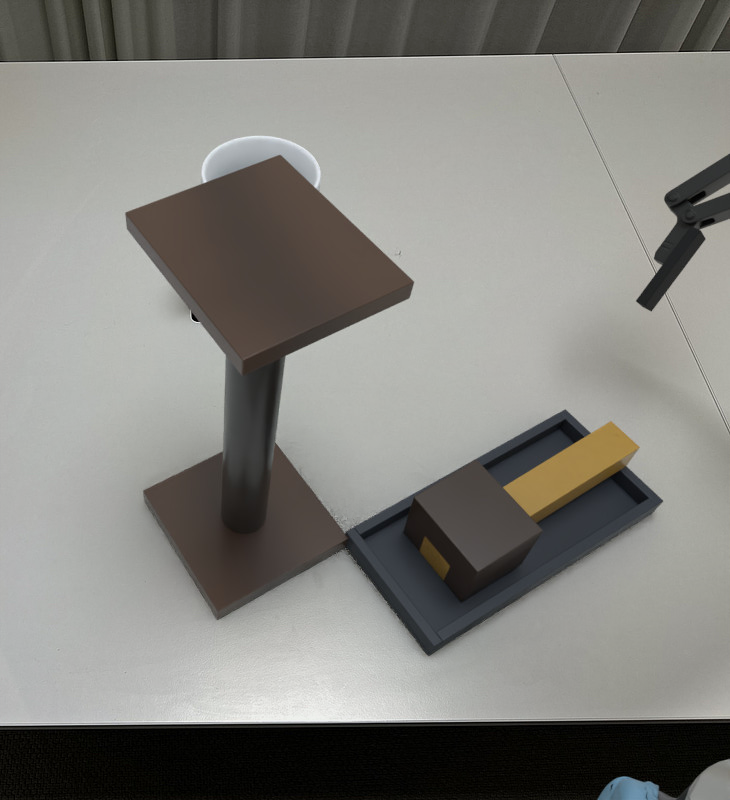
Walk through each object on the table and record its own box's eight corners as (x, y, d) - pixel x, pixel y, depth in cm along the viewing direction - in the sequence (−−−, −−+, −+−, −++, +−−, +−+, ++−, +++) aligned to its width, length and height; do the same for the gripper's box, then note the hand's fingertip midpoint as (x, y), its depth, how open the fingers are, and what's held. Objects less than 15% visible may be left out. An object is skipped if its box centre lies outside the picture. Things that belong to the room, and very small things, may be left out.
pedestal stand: (264, 440, 69) (294, 148, 45) (346, 547, 63) (431, 274, 39) (144, 500, 66) (107, 218, 42) (217, 620, 60) (223, 369, 36)
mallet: (580, 423, 68) (604, 382, 63) (645, 484, 64) (676, 445, 59) (402, 531, 63) (413, 496, 58) (461, 603, 60) (477, 572, 55)
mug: (211, 348, 76) (211, 245, 65) (149, 282, 81) (140, 177, 71) (329, 284, 81) (347, 179, 70) (263, 226, 86) (271, 120, 76)
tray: (557, 421, 70) (565, 408, 69) (652, 512, 65) (664, 500, 63) (342, 542, 63) (345, 531, 62) (428, 656, 58) (434, 646, 56)
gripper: (1180, 168, 48) (917, 453, 54) (760, 44, 62) (591, 281, 68) (1225, 125, 42) (924, 449, 48) (750, -1, 56) (567, 263, 62)
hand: (729, 351), depth 58 cm, fingers open, 13 cm apart
